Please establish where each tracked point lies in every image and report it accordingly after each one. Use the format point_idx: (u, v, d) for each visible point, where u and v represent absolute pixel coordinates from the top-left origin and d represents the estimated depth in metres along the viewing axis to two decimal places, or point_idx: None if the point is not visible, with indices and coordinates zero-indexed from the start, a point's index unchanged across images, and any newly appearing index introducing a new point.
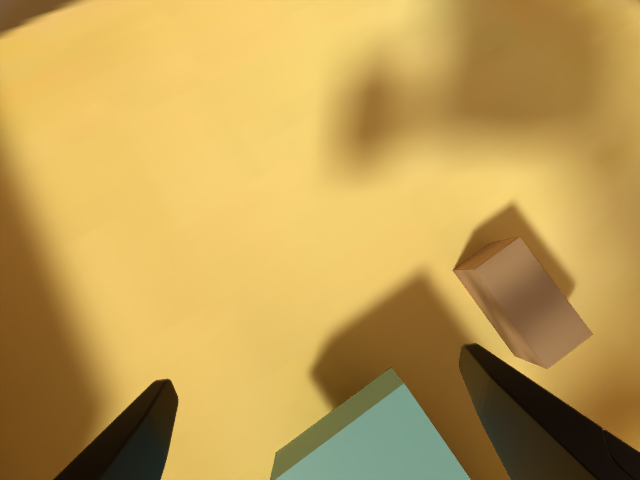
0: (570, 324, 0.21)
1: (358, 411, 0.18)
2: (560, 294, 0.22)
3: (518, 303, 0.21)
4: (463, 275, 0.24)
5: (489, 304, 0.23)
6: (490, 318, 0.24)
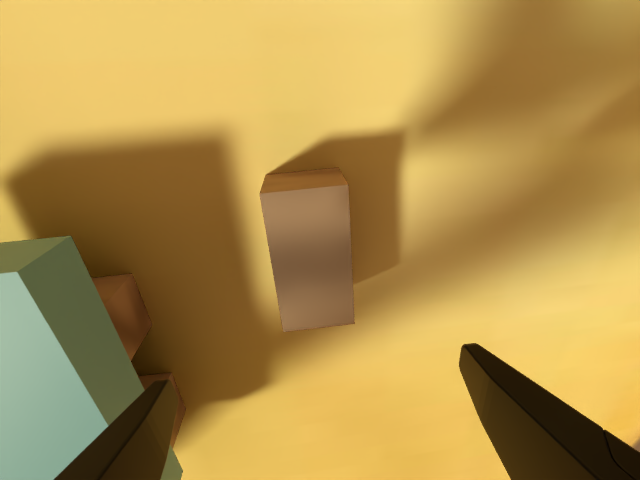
0: (337, 305, 0.17)
1: None
2: (349, 273, 0.16)
3: (292, 260, 0.16)
4: None
5: None
6: None
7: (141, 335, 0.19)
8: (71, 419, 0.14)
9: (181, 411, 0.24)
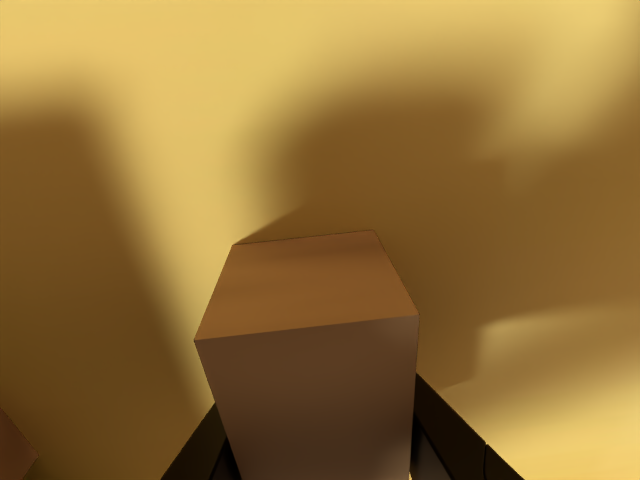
0: None
1: None
2: (403, 466, 0.08)
3: (283, 453, 0.07)
4: None
5: None
6: None
7: None
8: None
9: None
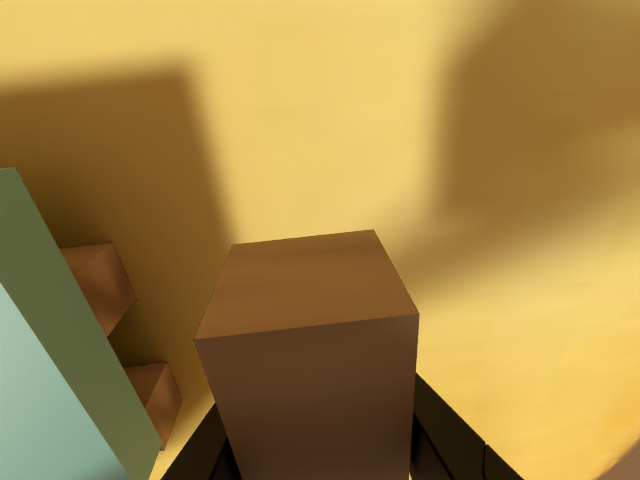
0: None
1: None
2: (403, 466, 0.08)
3: (282, 452, 0.07)
4: None
5: None
6: None
7: (123, 307, 0.19)
8: (22, 371, 0.13)
9: (178, 401, 0.24)
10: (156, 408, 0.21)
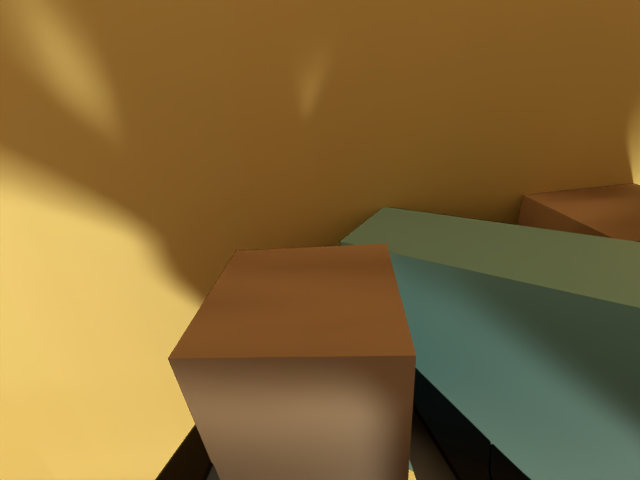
0: None
1: None
2: None
3: (266, 478, 0.07)
4: None
5: None
6: None
7: None
8: None
9: None
10: None
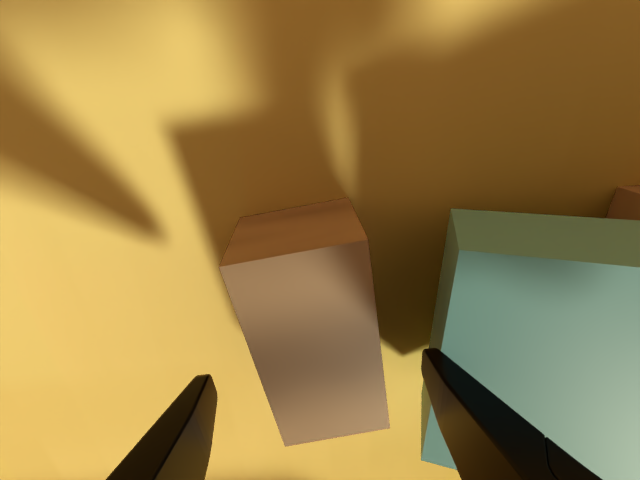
0: (363, 408, 0.11)
1: (441, 326, 0.10)
2: (378, 366, 0.10)
3: (287, 356, 0.10)
4: None
5: None
6: None
7: None
8: None
9: None
10: None
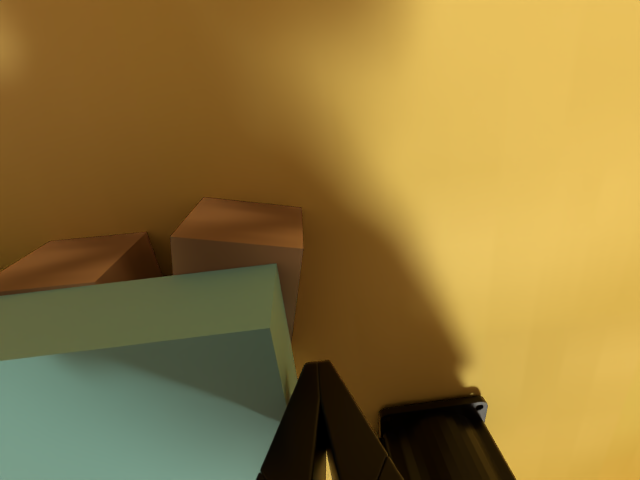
0: None
1: None
2: None
3: None
4: None
5: None
6: None
7: (122, 247, 0.12)
8: None
9: (288, 210, 0.13)
10: (215, 227, 0.10)
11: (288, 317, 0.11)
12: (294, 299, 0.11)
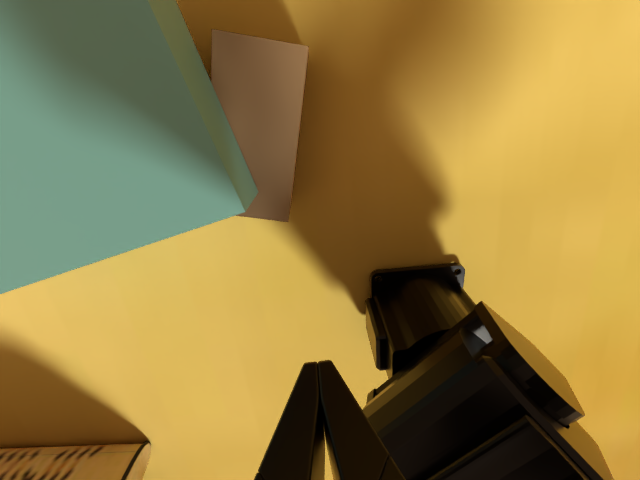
0: None
1: None
2: None
3: None
4: None
5: None
6: None
7: None
8: None
9: None
10: None
11: (295, 114, 0.14)
12: (300, 96, 0.14)
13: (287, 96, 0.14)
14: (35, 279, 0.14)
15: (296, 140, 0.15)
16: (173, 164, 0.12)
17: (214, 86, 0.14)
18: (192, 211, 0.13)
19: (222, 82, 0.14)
